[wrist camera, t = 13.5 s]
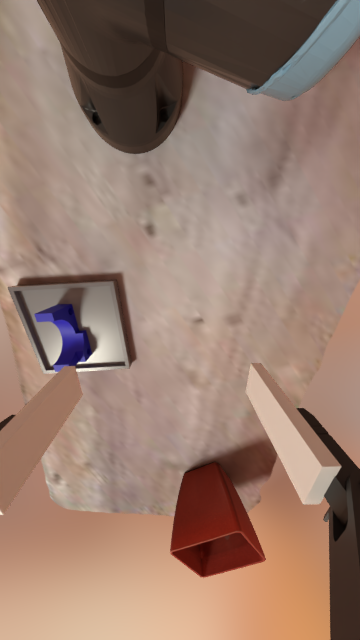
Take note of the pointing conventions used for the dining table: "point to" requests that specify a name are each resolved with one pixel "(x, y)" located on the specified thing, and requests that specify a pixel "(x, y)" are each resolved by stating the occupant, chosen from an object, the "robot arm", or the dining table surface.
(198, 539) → the plant pot
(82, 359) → the cable clip
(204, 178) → the dining table surface
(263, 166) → the dining table surface
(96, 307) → the tray
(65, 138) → the dining table surface
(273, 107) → the dining table surface
